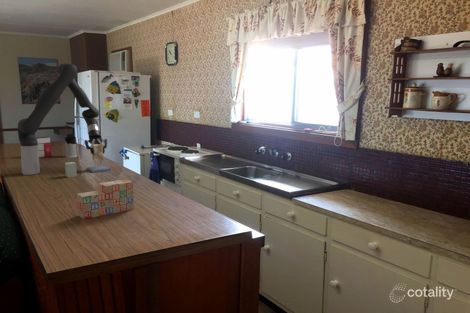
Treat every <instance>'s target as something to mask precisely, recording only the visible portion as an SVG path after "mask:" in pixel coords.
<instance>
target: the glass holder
mask: <svg viewBox="0 0 470 313" xmlns="http://www.w3.org/2000/svg"><path fill="white" fill-rule="evenodd" d="M80 140H81V138H79V139H78V141H77V140H76V136H65V137H64V146H65V148H64V150H65V158H77V157H78V153H79V152H80V151H81V150H82V149H83V148H84V146H85V144H83V145H82V147H81V148H80V149H79V150H78V151H77V148H78V147H77V144H79V143H80V142H79V141H80ZM82 141H85V140H84V139H83V138H82Z"/></svg>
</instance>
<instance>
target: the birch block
mask: <svg viewBox="0 0 470 313" xmlns="http://www.w3.org/2000/svg"><path fill="white" fill-rule="evenodd" d="M103 145H104V144H103ZM103 145H101V144H93V145H92V146H93V147H92V148H93V152H94V154H91V155H92V161H94V162H102V161H104V154H103Z"/></svg>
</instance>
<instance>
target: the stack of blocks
mask: <svg viewBox="0 0 470 313" xmlns="http://www.w3.org/2000/svg"><path fill="white" fill-rule="evenodd" d="M133 187H134V184H133V181H131V180H129V179H119V180H113V181H104V182H99V183H98V190H94V191H86V192H80V193H77V196H76V197H77V202H76V203H77V215H78V216H79V217H80V218H81V219H83V220H85V219H90V218H96V217H101V216H107V215H111V214H117V213H121V212H126V211H132V210H134V209H135V208H134V188H133Z"/></svg>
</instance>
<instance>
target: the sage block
mask: <svg viewBox="0 0 470 313" xmlns="http://www.w3.org/2000/svg"><path fill="white" fill-rule="evenodd" d="M64 170H65V171H64V172H65V177H67V178H68V177H69V178H75V177H78V171H77V163H76V162H74V161H72V162H71V161H70V162H65V163H64Z"/></svg>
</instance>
